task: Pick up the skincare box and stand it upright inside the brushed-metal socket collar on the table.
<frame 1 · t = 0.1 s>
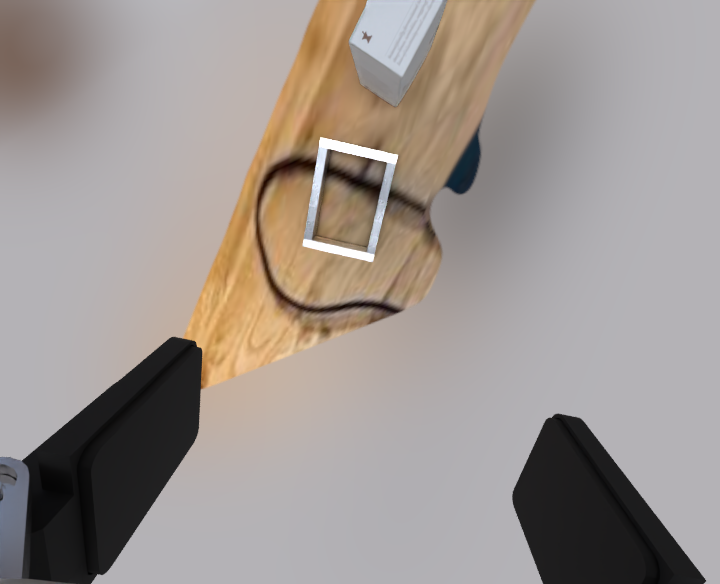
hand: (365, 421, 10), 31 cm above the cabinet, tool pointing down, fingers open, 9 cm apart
skincare box: (394, 64, 34), on the cabinet
socket collar: (350, 200, 38), on the cabinet
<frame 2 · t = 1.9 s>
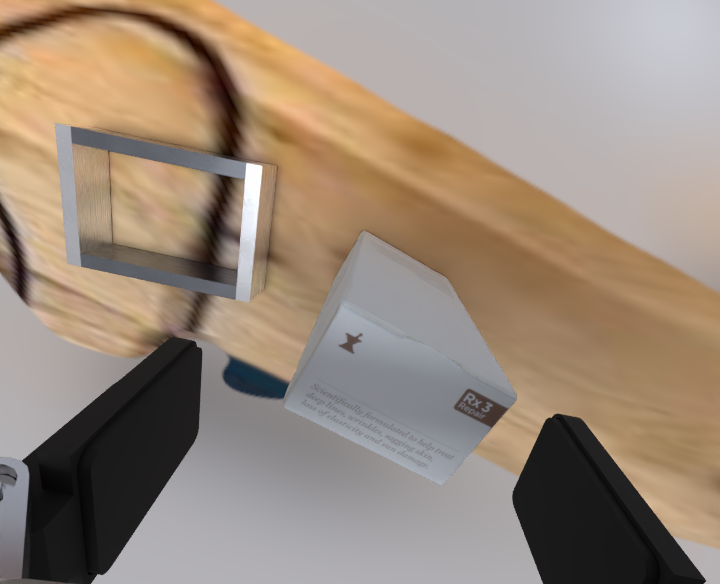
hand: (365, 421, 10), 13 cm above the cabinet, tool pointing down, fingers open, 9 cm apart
skincare box: (392, 280, 22), on the cabinet
socket collar: (183, 212, 22), on the cabinet
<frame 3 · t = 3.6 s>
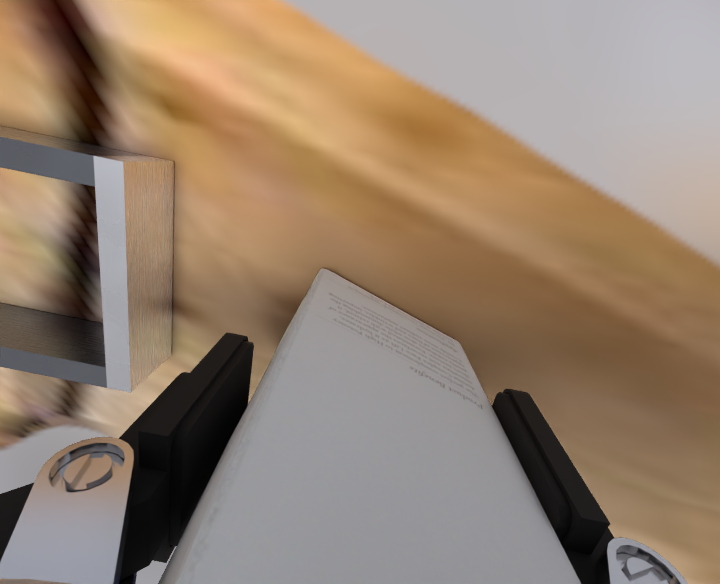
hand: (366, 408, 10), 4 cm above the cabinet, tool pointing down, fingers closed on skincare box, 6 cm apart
skincare box: (371, 342, 14), on the cabinet, touching gripper
socket collar: (28, 238, 13), on the cabinet
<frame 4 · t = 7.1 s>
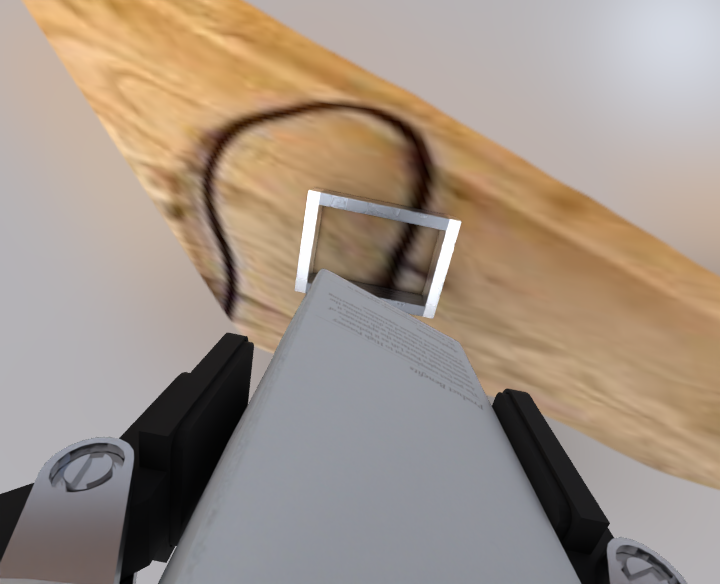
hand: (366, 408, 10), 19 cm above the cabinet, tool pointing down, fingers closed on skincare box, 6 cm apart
skincare box: (371, 342, 14), point 15 cm above the cabinet, touching gripper
socket collar: (374, 249, 28), on the cabinet
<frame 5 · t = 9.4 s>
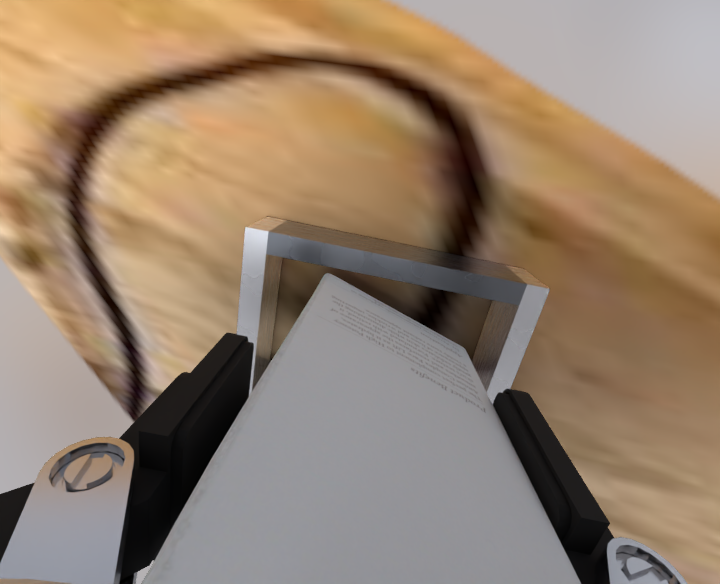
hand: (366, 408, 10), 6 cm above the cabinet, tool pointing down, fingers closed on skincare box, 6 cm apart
skincare box: (376, 347, 14), point 2 cm above the cabinet, touching gripper, socket collar
socket collar: (377, 323, 16), on the cabinet
when the fingers open (6 cm above the cabinet, at t = 10.6 s): skincare box drops 2 cm, resting in socket collar.
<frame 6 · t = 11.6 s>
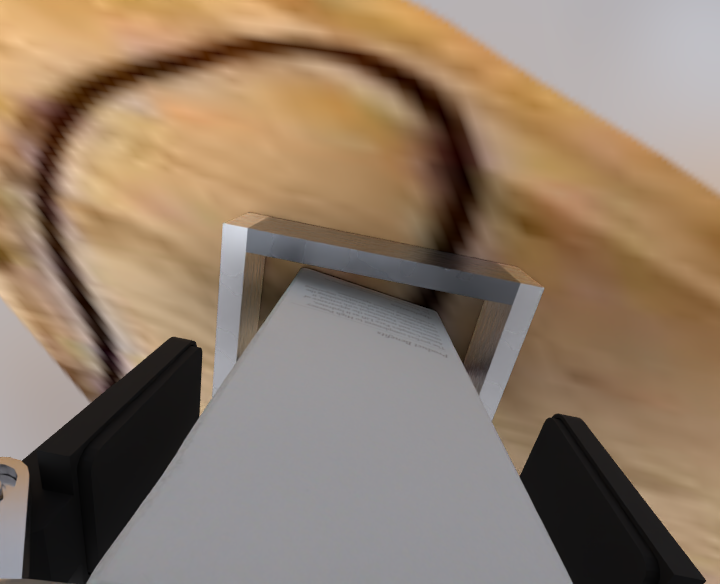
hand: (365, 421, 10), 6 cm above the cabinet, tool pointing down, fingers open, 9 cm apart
skincare box: (360, 326, 16), resting in socket collar
socket collar: (365, 324, 15), on the cabinet
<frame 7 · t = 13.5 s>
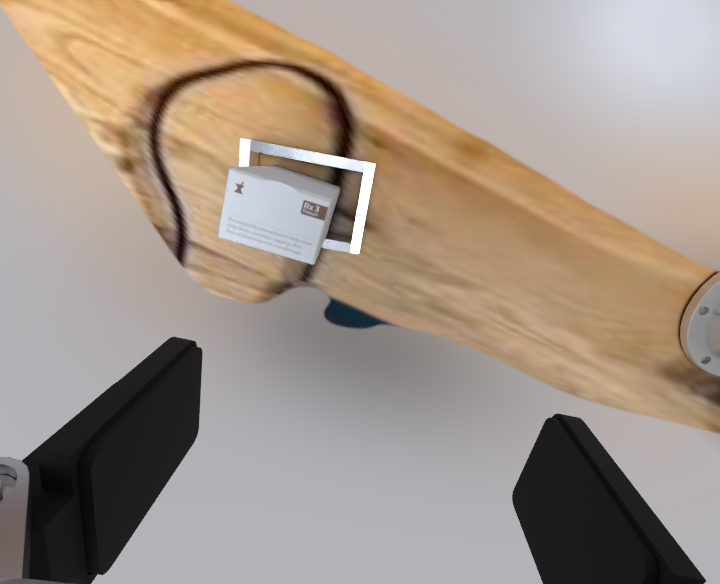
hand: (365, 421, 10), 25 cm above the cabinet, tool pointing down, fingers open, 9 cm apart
skincare box: (305, 197, 32), resting in socket collar
socket collar: (307, 195, 32), on the cabinet
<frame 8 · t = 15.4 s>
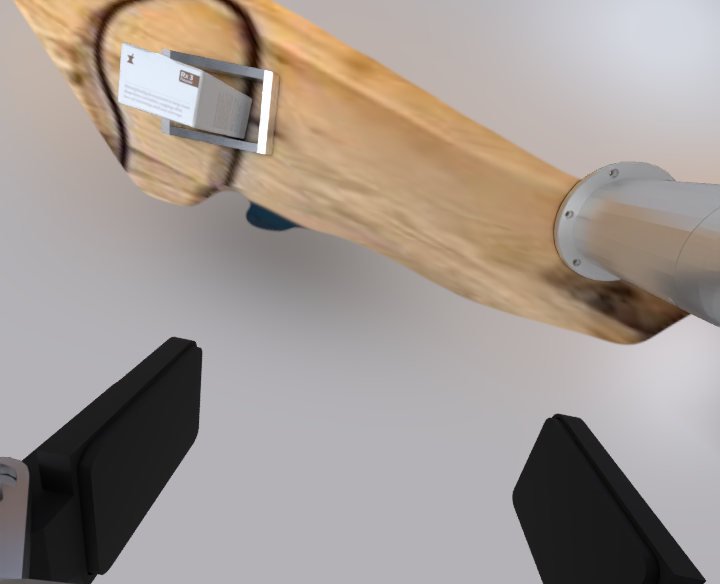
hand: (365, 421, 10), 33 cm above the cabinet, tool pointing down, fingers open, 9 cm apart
skincare box: (224, 109, 38), resting in socket collar
socket collar: (225, 106, 38), on the cabinet
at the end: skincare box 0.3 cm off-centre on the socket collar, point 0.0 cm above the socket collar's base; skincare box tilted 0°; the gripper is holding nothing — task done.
